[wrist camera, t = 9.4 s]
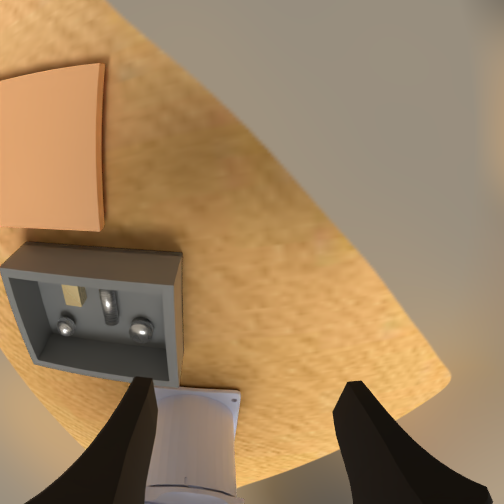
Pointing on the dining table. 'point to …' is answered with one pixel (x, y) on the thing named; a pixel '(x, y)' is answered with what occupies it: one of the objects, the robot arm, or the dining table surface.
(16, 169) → the lid
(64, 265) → the tub
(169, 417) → the robot arm
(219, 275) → the dining table surface
